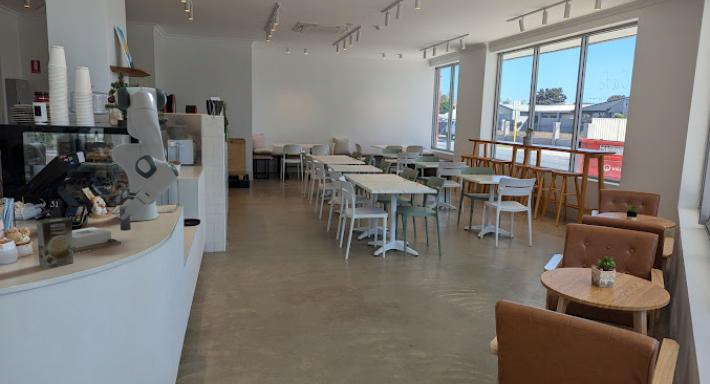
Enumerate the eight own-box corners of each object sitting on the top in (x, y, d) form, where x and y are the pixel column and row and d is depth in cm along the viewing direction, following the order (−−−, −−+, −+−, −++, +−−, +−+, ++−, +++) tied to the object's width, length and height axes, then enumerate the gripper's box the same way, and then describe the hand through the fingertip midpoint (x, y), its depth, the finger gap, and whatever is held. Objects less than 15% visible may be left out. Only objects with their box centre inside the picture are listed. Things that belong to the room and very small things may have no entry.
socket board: (49, 244, 198) (49, 239, 197) (93, 236, 212) (93, 231, 212) (76, 253, 185) (76, 248, 185) (121, 244, 200) (121, 239, 200)
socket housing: (59, 242, 197) (58, 232, 196) (93, 236, 208) (93, 227, 208) (76, 247, 189) (75, 237, 188) (111, 241, 201) (110, 231, 200)
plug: (118, 229, 206) (117, 206, 205) (127, 228, 209) (126, 205, 208) (123, 231, 204) (122, 207, 202) (132, 229, 207) (131, 206, 206)
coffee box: (45, 268, 166) (42, 223, 164) (39, 265, 170) (35, 220, 168) (74, 263, 173) (71, 219, 171) (67, 259, 177) (64, 216, 175)
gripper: (144, 185, 216) (122, 207, 215) (137, 192, 196) (112, 217, 195) (155, 195, 218) (133, 217, 216) (149, 203, 198) (125, 227, 197)
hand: (123, 217), depth 206 cm, fingers closed on plug, 4 cm apart
